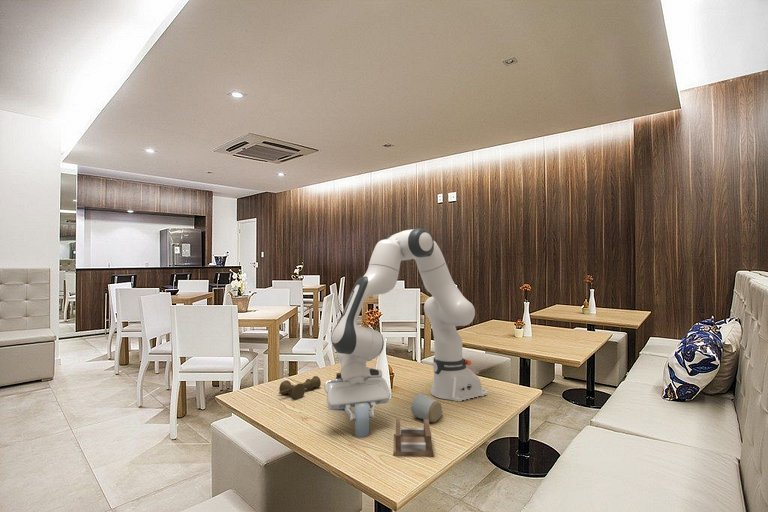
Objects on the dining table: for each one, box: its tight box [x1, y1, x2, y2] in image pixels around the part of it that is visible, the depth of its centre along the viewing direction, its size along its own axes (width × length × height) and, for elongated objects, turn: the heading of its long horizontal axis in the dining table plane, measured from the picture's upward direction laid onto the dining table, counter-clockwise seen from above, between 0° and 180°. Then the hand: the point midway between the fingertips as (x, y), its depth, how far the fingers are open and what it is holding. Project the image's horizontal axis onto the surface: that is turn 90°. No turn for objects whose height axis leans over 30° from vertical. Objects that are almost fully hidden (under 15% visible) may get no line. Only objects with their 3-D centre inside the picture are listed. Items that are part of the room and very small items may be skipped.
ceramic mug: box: [410, 393, 444, 423], centre depth 129 cm, size 11×8×8 cm
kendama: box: [278, 375, 322, 400], centre depth 153 cm, size 6×10×20 cm
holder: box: [392, 418, 435, 457], centre depth 109 cm, size 11×11×6 cm
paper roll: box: [354, 402, 370, 438], centre depth 117 cm, size 4×4×9 cm
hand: (362, 418), depth 117 cm, fingers closed on paper roll, 4 cm apart
